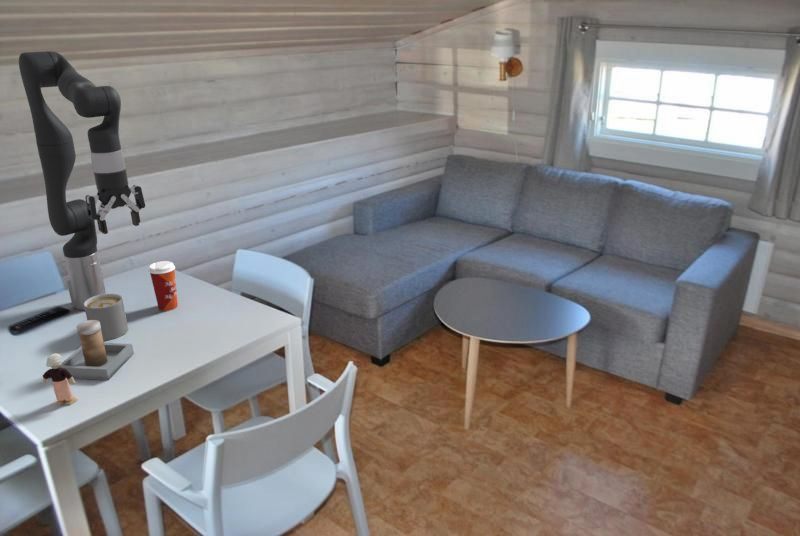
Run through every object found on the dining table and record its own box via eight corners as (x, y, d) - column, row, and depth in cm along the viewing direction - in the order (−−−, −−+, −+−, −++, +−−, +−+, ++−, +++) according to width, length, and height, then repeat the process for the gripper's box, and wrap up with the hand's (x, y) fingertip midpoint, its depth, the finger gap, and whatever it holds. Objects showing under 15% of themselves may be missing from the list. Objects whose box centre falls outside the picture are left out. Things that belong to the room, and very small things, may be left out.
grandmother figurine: (84, 395, 153) (73, 349, 148) (79, 404, 150) (67, 357, 145) (50, 398, 152) (38, 351, 147) (44, 407, 149) (31, 360, 144)
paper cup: (176, 312, 195) (169, 269, 190) (151, 312, 195) (143, 269, 190) (184, 301, 202) (178, 260, 197) (160, 301, 202) (153, 260, 197)
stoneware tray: (59, 377, 161) (57, 367, 160) (88, 351, 173) (85, 342, 172) (108, 379, 160) (106, 369, 158) (133, 353, 171) (132, 344, 170)
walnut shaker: (80, 367, 164) (72, 329, 159) (92, 357, 169) (84, 319, 164) (101, 368, 163) (92, 330, 159) (111, 357, 168) (104, 320, 164)
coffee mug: (124, 338, 180) (118, 306, 176) (86, 342, 178) (79, 309, 174) (133, 317, 192) (127, 287, 188) (98, 321, 190) (91, 290, 186)
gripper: (88, 176, 155) (101, 239, 161) (143, 165, 165) (153, 225, 171) (74, 171, 159) (87, 233, 165) (128, 161, 169) (138, 220, 175)
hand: (120, 229), depth 168 cm, fingers open, 8 cm apart
